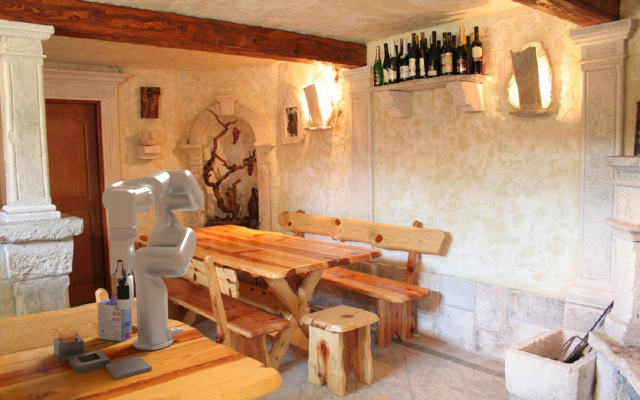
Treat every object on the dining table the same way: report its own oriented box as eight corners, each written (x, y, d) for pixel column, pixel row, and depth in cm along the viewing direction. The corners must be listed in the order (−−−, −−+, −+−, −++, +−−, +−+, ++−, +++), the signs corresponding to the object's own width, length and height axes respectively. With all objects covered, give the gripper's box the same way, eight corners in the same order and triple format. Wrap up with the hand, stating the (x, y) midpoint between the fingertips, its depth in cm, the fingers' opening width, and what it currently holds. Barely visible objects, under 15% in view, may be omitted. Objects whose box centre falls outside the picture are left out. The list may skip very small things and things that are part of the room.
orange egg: (75, 346, 167) (75, 329, 167) (80, 351, 163) (79, 333, 163) (57, 350, 164) (56, 332, 164) (61, 355, 160) (60, 337, 159)
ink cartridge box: (133, 336, 180) (131, 294, 179) (122, 342, 175) (120, 298, 173) (109, 333, 183) (107, 292, 182) (97, 339, 178) (95, 296, 177)
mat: (139, 359, 161) (139, 355, 161) (151, 370, 153) (151, 366, 153) (105, 367, 155) (105, 364, 155) (115, 379, 147) (115, 375, 147)
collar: (100, 356, 163) (100, 349, 163) (109, 365, 156) (109, 359, 156) (69, 363, 158) (68, 356, 158) (77, 373, 151) (76, 366, 150)
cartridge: (119, 305, 154) (118, 275, 153) (135, 305, 155) (134, 274, 154) (115, 310, 150) (114, 278, 149) (132, 309, 150) (131, 278, 149)
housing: (78, 349, 169) (77, 334, 168) (84, 356, 163) (83, 340, 163) (54, 354, 164) (53, 338, 164) (59, 361, 159) (58, 345, 158)
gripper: (116, 228, 158) (118, 289, 160) (101, 238, 141) (103, 306, 143) (142, 228, 159) (144, 288, 161) (130, 237, 142) (133, 304, 144)
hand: (125, 296), depth 152 cm, fingers closed on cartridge, 4 cm apart
